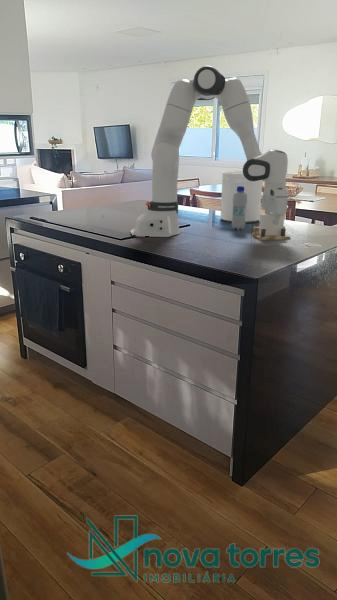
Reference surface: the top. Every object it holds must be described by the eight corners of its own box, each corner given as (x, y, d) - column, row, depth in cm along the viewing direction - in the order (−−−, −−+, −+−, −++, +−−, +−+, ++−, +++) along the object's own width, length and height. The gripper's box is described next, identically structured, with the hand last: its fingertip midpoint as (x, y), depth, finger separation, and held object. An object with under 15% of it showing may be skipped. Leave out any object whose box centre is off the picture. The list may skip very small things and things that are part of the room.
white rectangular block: (260, 235, 193) (262, 214, 190) (258, 234, 196) (260, 213, 192) (282, 235, 195) (284, 214, 192) (280, 233, 197) (282, 213, 194)
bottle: (245, 230, 208) (247, 186, 201) (230, 230, 209) (232, 186, 203) (245, 228, 214) (248, 185, 207) (231, 227, 216) (233, 185, 209)
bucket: (232, 215, 251) (235, 169, 243) (268, 219, 239) (272, 171, 231) (209, 221, 231) (211, 172, 223) (247, 226, 220) (250, 174, 211)
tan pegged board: (258, 239, 190) (259, 230, 188) (251, 235, 199) (252, 226, 198) (290, 239, 192) (291, 229, 190) (281, 234, 201) (282, 225, 200)
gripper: (259, 187, 198) (256, 218, 203) (276, 192, 179) (273, 227, 183) (272, 187, 199) (270, 218, 203) (291, 192, 180) (287, 226, 184)
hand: (271, 222), depth 193 cm, fingers open, 8 cm apart
